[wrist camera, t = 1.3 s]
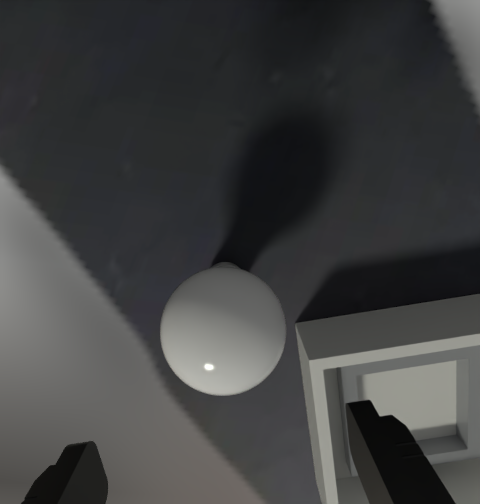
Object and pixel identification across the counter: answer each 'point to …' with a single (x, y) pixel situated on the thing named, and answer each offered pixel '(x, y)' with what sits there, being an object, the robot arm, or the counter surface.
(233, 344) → the lightbulb
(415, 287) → the counter surface
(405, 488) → the robot arm
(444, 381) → the walled box
